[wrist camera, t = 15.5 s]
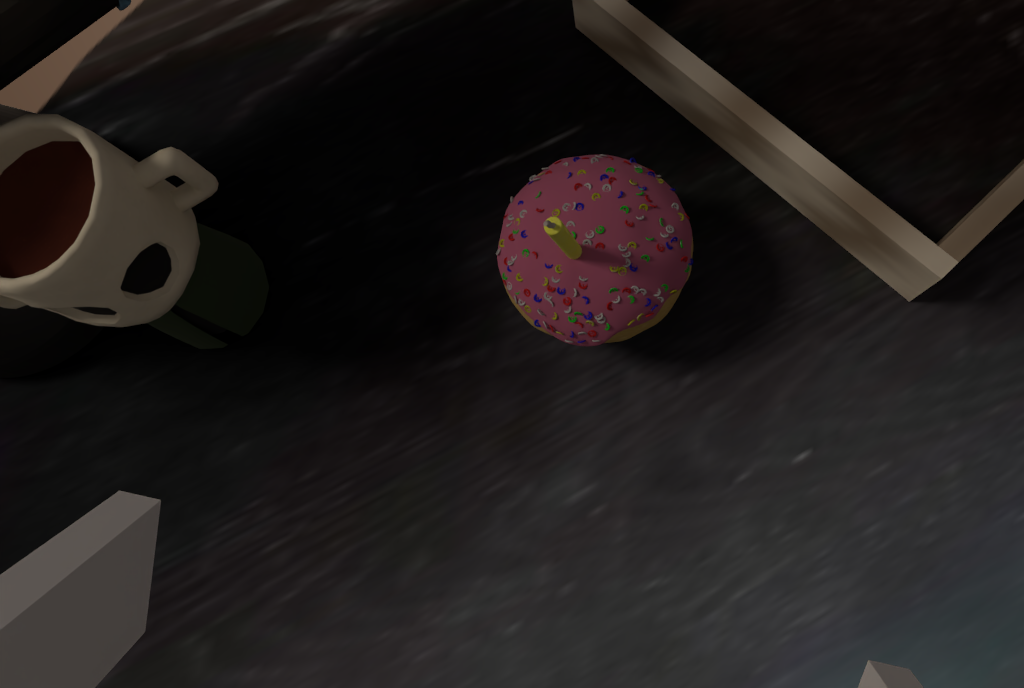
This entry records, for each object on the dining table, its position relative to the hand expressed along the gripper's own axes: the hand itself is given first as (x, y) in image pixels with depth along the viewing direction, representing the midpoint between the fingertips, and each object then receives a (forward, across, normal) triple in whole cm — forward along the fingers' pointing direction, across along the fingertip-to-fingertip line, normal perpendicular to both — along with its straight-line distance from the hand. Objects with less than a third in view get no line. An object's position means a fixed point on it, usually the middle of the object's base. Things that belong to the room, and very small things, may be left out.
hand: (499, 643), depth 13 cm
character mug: (+26, -17, -1) cm, 31 cm away
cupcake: (+24, +3, +4) cm, 24 cm away
